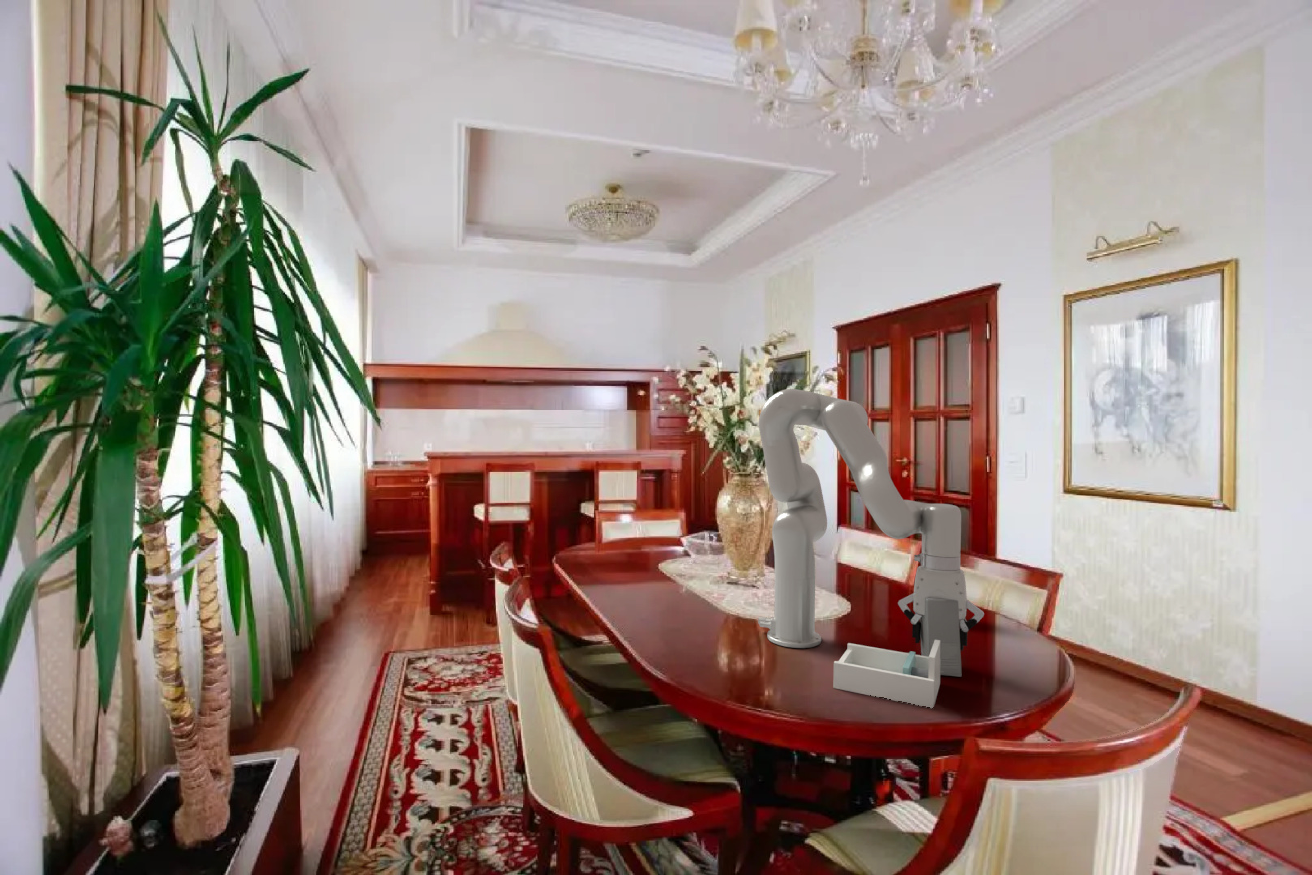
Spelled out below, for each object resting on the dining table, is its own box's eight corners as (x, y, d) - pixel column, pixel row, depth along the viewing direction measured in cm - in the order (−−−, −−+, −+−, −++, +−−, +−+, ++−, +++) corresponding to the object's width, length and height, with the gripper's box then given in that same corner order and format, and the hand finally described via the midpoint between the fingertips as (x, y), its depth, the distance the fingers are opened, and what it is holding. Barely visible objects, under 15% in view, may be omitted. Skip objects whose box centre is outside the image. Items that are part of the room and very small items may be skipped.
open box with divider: (833, 687, 123) (833, 642, 123) (848, 666, 135) (848, 624, 135) (933, 708, 115) (934, 659, 114) (940, 683, 126) (940, 638, 126)
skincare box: (962, 678, 129) (963, 601, 129) (925, 675, 130) (926, 598, 130) (951, 663, 137) (952, 590, 137) (916, 660, 139) (918, 588, 138)
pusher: (902, 692, 119) (902, 667, 119) (909, 674, 127) (910, 651, 127) (926, 697, 117) (927, 671, 116) (932, 678, 125) (932, 654, 125)
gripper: (894, 561, 134) (893, 642, 135) (986, 571, 126) (984, 658, 126) (899, 555, 141) (898, 633, 141) (987, 564, 133) (986, 647, 133)
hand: (939, 644), depth 134 cm, fingers closed on skincare box, 7 cm apart
